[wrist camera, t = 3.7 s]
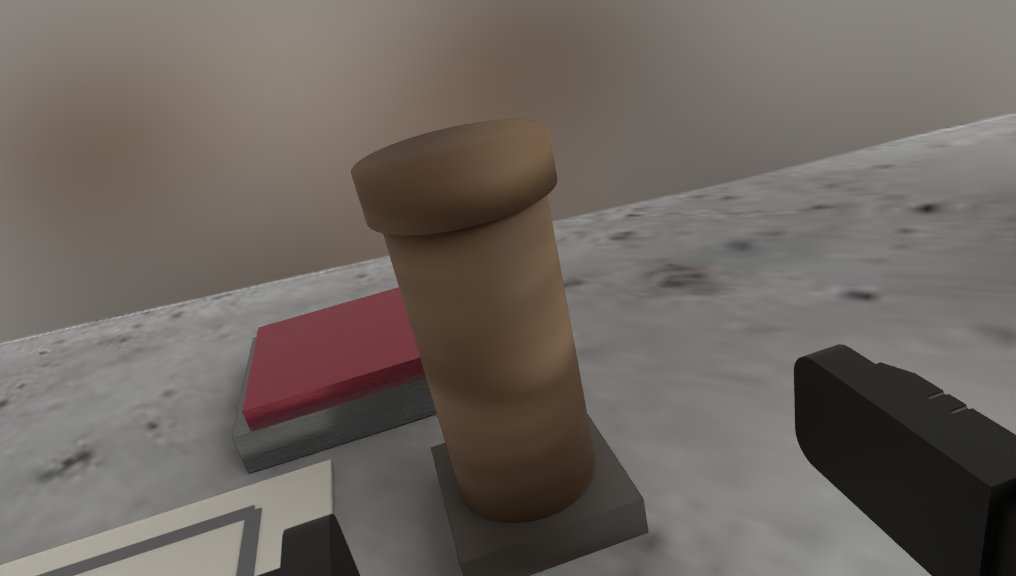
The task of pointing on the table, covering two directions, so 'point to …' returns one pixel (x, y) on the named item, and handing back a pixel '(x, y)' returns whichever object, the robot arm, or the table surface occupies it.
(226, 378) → the table surface
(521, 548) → the stamp
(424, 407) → the ink pad
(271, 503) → the sheet
